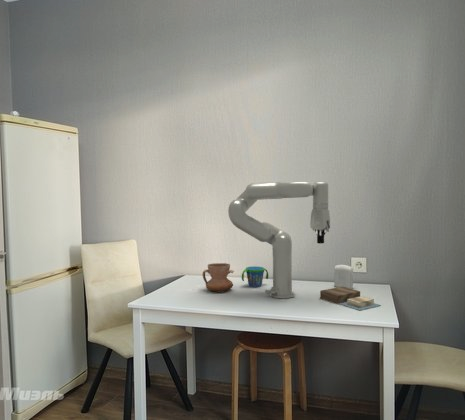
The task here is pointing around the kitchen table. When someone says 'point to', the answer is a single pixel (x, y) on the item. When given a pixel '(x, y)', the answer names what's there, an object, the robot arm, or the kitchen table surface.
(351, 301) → the birch tile
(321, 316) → the kitchen table surface
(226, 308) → the kitchen table surface
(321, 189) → the robot arm
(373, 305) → the slate mat
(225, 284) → the ceramic jug
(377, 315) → the kitchen table surface
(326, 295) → the block
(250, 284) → the snack cup
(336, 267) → the white upright block
